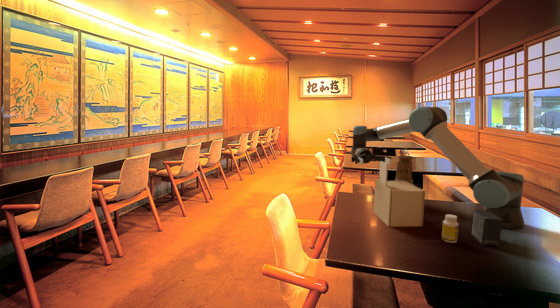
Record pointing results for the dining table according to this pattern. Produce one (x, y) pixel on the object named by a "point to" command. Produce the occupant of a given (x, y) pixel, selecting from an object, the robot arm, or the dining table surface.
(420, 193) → the carton
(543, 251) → the dining table surface
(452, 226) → the supplement bottle
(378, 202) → the front flap
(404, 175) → the lantern
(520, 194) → the robot arm
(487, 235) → the small box
